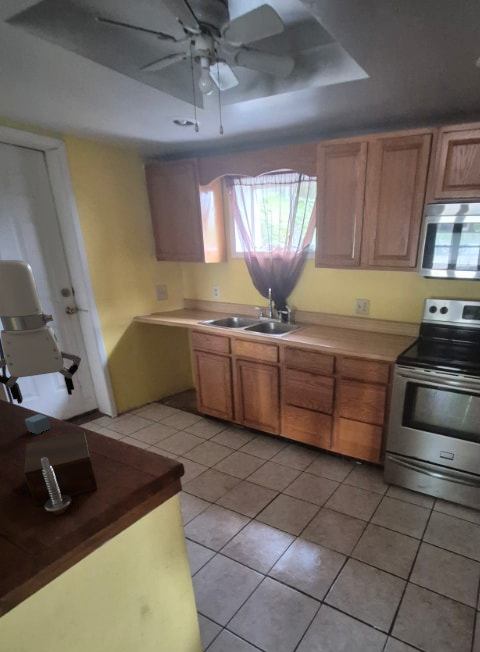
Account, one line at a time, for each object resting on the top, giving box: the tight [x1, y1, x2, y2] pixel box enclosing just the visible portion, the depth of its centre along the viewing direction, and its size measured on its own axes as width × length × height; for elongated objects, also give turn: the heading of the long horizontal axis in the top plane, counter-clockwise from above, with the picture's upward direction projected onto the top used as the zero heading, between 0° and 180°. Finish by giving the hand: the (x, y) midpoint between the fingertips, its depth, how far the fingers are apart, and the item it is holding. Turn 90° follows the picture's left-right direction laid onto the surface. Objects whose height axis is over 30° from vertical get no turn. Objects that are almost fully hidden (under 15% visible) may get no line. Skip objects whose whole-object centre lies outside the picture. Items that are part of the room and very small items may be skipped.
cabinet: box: [23, 430, 99, 508], centre depth 84 cm, size 14×12×9 cm
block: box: [24, 413, 52, 435], centre depth 107 cm, size 4×4×4 cm
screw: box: [41, 457, 72, 516], centre depth 74 cm, size 13×5×5 cm
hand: (46, 397), depth 85 cm, fingers open, 9 cm apart
